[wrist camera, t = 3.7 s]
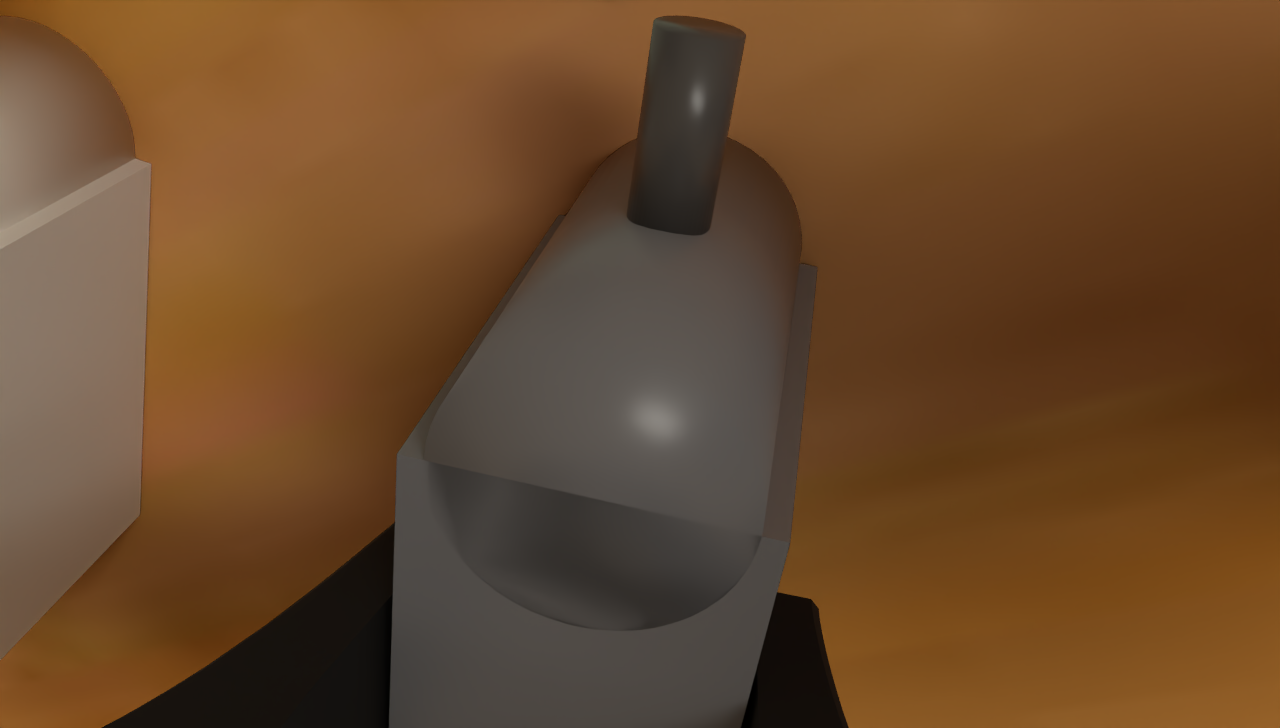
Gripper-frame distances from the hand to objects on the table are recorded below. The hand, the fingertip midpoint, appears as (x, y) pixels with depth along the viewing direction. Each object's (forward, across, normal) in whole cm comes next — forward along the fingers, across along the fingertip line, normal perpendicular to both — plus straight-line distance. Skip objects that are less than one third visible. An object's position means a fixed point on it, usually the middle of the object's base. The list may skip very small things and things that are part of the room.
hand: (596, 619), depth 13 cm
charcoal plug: (+4, 0, 0) cm, 4 cm away
